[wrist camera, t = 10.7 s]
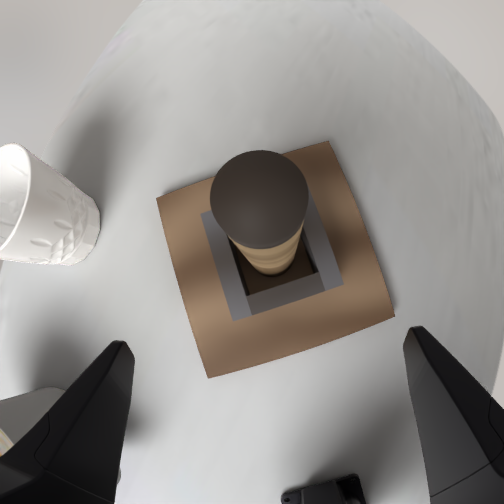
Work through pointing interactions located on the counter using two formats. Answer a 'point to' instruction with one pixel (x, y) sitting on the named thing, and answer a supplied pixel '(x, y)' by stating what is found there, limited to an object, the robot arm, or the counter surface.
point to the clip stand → (281, 287)
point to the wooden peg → (261, 208)
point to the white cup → (42, 212)
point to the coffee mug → (25, 415)
